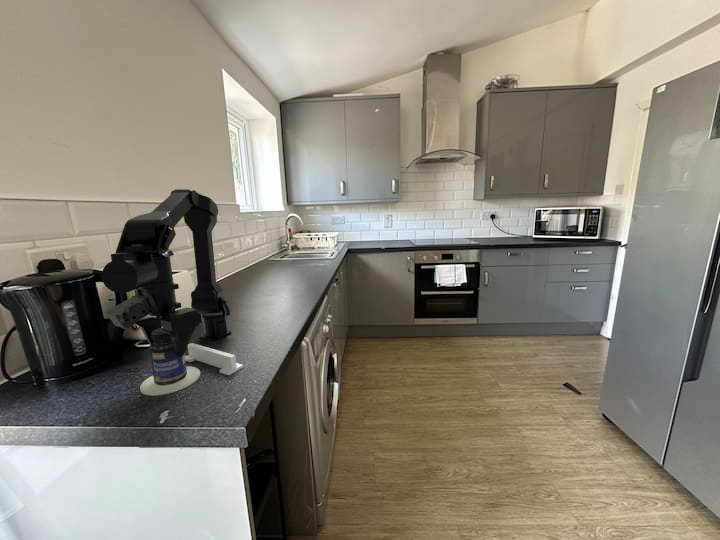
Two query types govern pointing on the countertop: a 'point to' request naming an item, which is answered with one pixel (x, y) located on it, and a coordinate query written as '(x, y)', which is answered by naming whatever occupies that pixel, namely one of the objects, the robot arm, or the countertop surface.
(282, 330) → the countertop surface
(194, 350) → the low wall
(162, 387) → the pad
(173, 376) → the pill bottle
